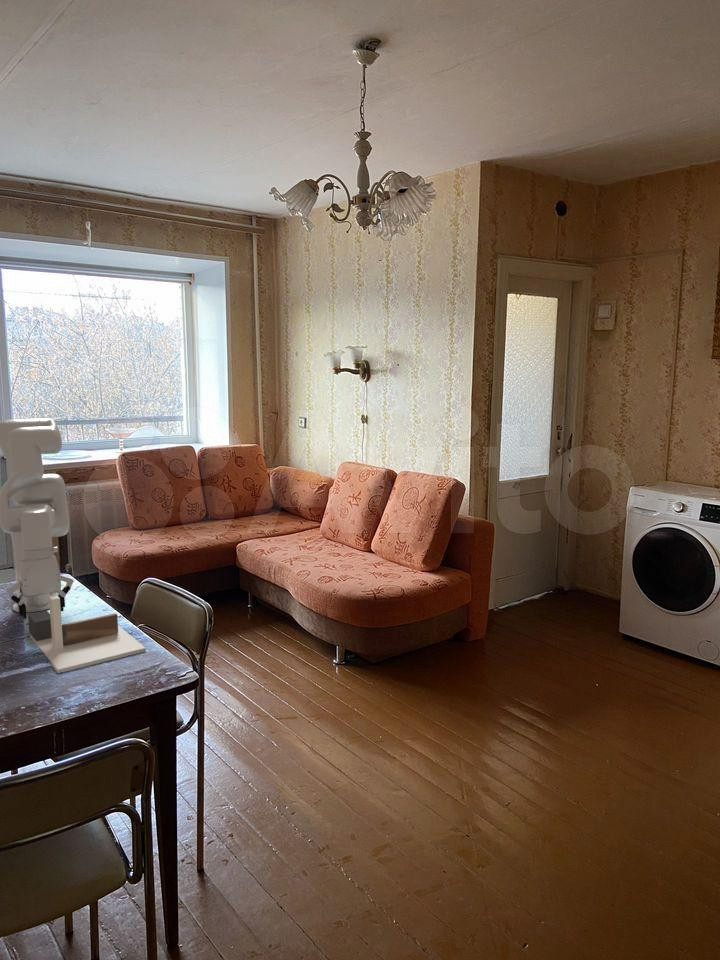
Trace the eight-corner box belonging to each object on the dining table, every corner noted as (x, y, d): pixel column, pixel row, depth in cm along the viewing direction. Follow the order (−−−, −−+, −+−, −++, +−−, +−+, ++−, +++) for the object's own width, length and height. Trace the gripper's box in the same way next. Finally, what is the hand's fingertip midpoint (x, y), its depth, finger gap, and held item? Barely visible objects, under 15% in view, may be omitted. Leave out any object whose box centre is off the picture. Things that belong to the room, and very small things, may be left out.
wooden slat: (62, 644, 191) (60, 624, 190) (116, 631, 200) (115, 613, 199) (63, 645, 190) (62, 626, 189) (118, 633, 199) (117, 614, 198)
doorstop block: (29, 632, 200) (27, 614, 199) (47, 628, 203) (46, 610, 202) (36, 641, 193) (35, 622, 193) (55, 637, 196) (54, 618, 196)
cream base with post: (28, 637, 199) (24, 586, 196) (108, 620, 212) (105, 572, 210) (58, 673, 175) (53, 616, 173) (145, 651, 189) (142, 598, 187)
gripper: (66, 546, 201) (71, 604, 203) (0, 556, 190) (5, 617, 192) (74, 551, 195) (78, 610, 197) (6, 561, 184) (11, 624, 186)
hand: (42, 613), depth 195 cm, fingers open, 9 cm apart
